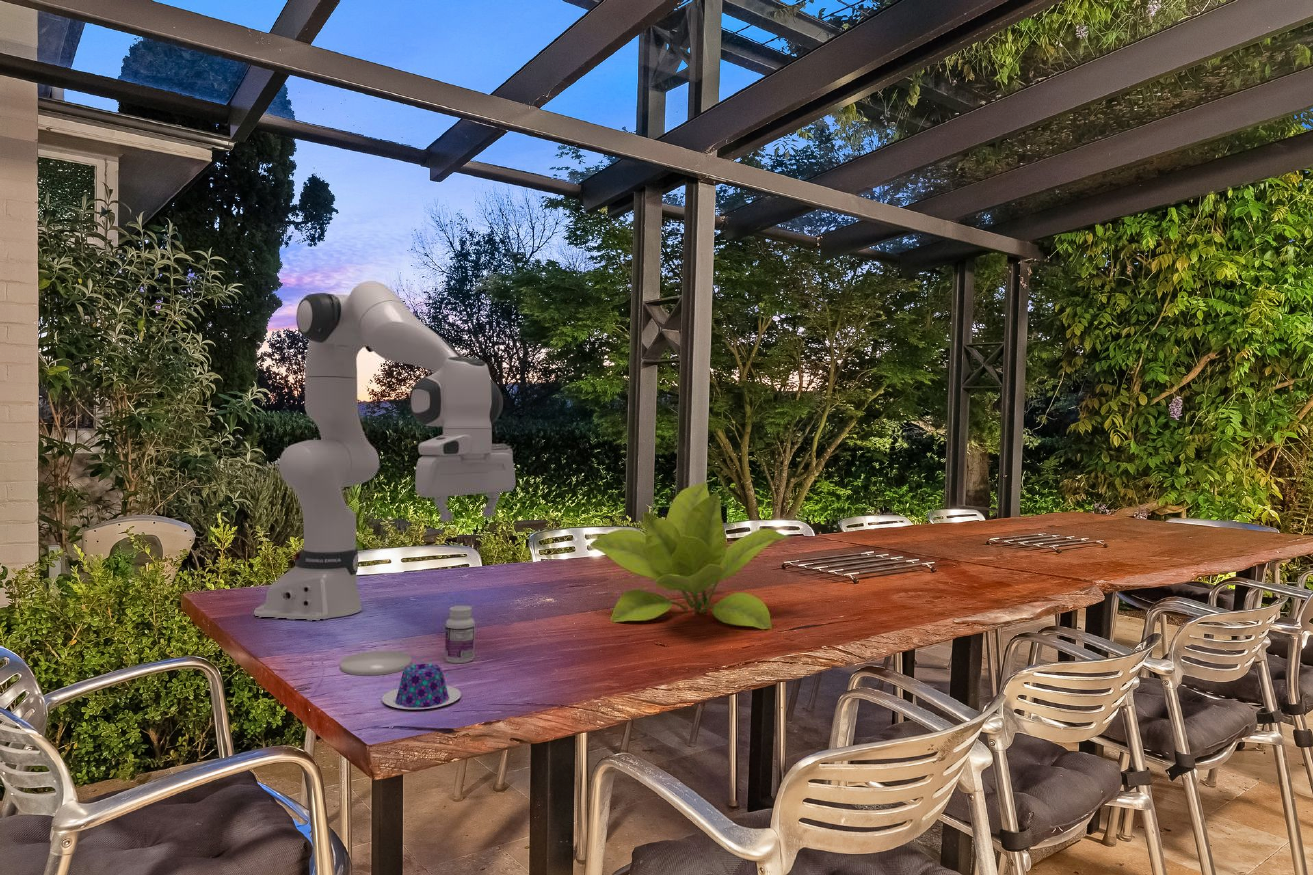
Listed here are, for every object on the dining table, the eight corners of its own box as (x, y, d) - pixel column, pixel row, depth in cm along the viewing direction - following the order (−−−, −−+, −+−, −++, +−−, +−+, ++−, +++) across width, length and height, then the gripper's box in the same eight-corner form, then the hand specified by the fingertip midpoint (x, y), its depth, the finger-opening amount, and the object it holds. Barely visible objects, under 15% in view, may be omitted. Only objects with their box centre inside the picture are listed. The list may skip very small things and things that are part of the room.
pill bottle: (447, 655, 157) (448, 604, 157) (476, 655, 157) (477, 604, 157) (442, 664, 151) (443, 610, 151) (472, 664, 152) (473, 610, 152)
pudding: (401, 687, 139) (401, 655, 139) (471, 691, 138) (472, 659, 137) (368, 711, 127) (368, 676, 127) (444, 716, 126) (445, 681, 126)
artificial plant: (582, 635, 199) (551, 542, 182) (684, 525, 225) (664, 434, 209) (732, 705, 175) (712, 605, 159) (826, 573, 202) (818, 475, 185)
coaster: (330, 675, 143) (330, 669, 143) (352, 655, 155) (352, 650, 155) (402, 675, 144) (402, 669, 144) (418, 656, 156) (418, 651, 156)
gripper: (501, 443, 165) (502, 513, 165) (410, 445, 150) (410, 522, 150) (522, 443, 161) (522, 515, 161) (430, 445, 146) (431, 525, 146)
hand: (468, 519), depth 155 cm, fingers open, 8 cm apart
